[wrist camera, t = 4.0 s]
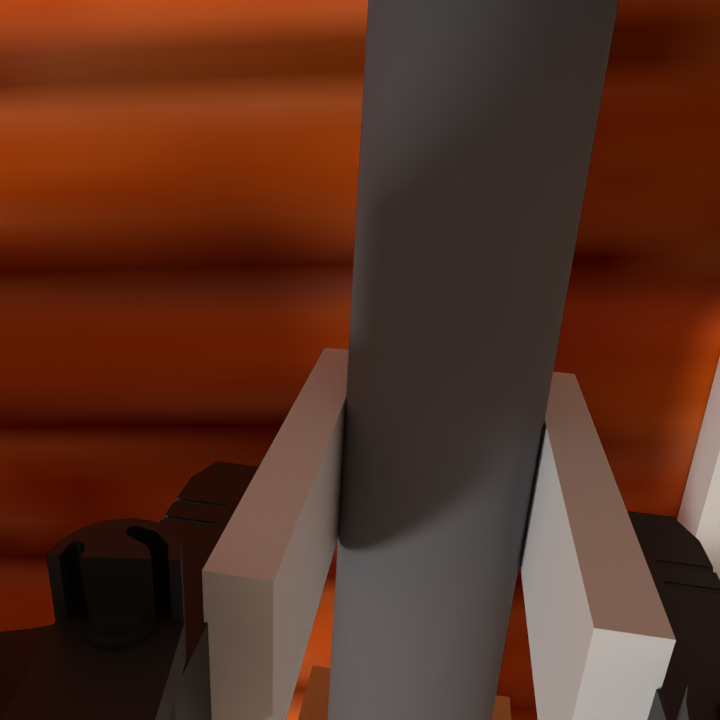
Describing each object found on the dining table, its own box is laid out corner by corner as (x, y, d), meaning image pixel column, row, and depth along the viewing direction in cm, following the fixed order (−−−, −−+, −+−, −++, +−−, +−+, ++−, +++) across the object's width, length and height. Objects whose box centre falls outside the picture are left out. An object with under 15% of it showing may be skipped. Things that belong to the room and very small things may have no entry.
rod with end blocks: (356, -315, 10) (228, -802, 5) (698, -317, 10) (1011, -872, 4) (306, 800, 19) (242, 1084, 14) (484, 832, 19) (493, 1142, 13)
